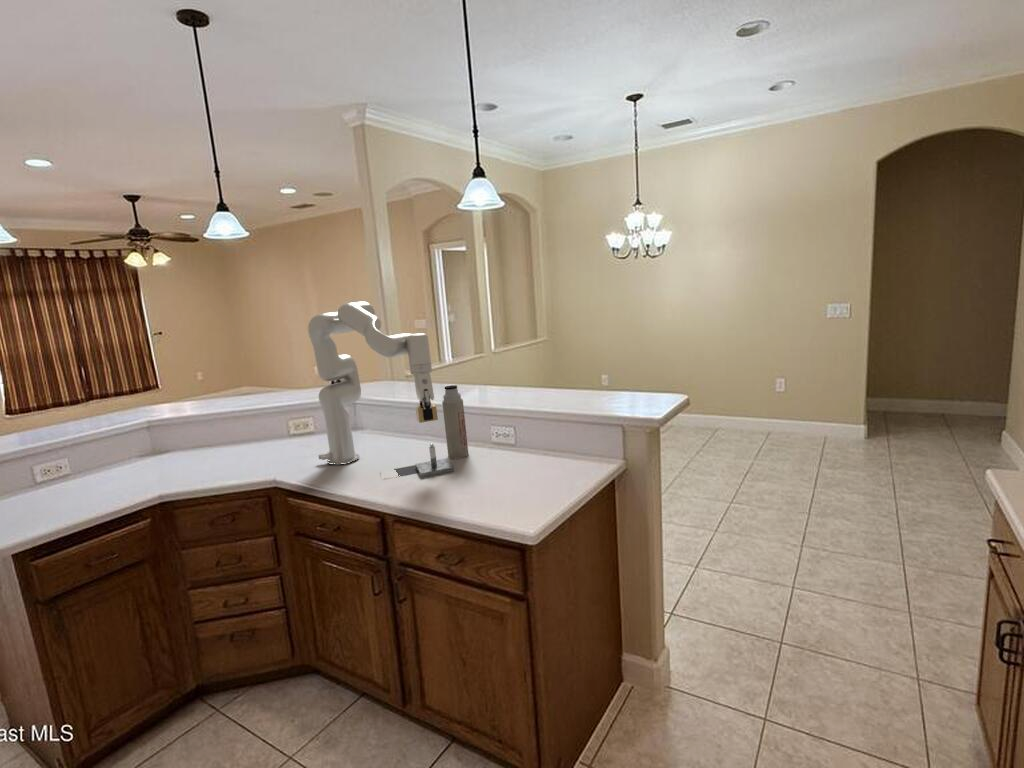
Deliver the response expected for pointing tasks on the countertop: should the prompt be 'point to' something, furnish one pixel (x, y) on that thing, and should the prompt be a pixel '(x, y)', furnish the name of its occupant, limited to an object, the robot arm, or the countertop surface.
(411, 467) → the mat
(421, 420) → the collar
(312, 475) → the countertop surface
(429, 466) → the grey peg stand
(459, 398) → the thermos bottle
